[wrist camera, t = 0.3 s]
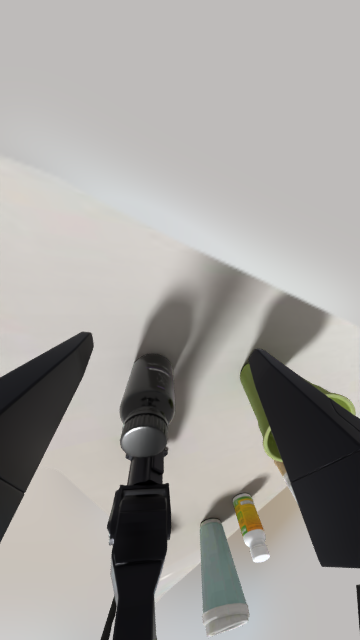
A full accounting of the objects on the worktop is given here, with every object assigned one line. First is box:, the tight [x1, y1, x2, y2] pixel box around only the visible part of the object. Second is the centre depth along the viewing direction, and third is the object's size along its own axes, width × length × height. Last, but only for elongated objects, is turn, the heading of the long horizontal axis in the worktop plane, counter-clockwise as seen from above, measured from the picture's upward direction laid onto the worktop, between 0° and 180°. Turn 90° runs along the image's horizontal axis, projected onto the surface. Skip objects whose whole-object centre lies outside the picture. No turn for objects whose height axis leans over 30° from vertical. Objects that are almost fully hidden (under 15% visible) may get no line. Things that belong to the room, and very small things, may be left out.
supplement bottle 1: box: [120, 354, 175, 458], centre depth 22 cm, size 7×7×12 cm
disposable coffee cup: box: [200, 519, 249, 637], centre depth 41 cm, size 11×11×15 cm
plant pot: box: [240, 363, 356, 462], centre depth 25 cm, size 12×12×11 cm
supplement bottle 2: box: [233, 493, 270, 562], centre depth 40 cm, size 5×5×10 cm
